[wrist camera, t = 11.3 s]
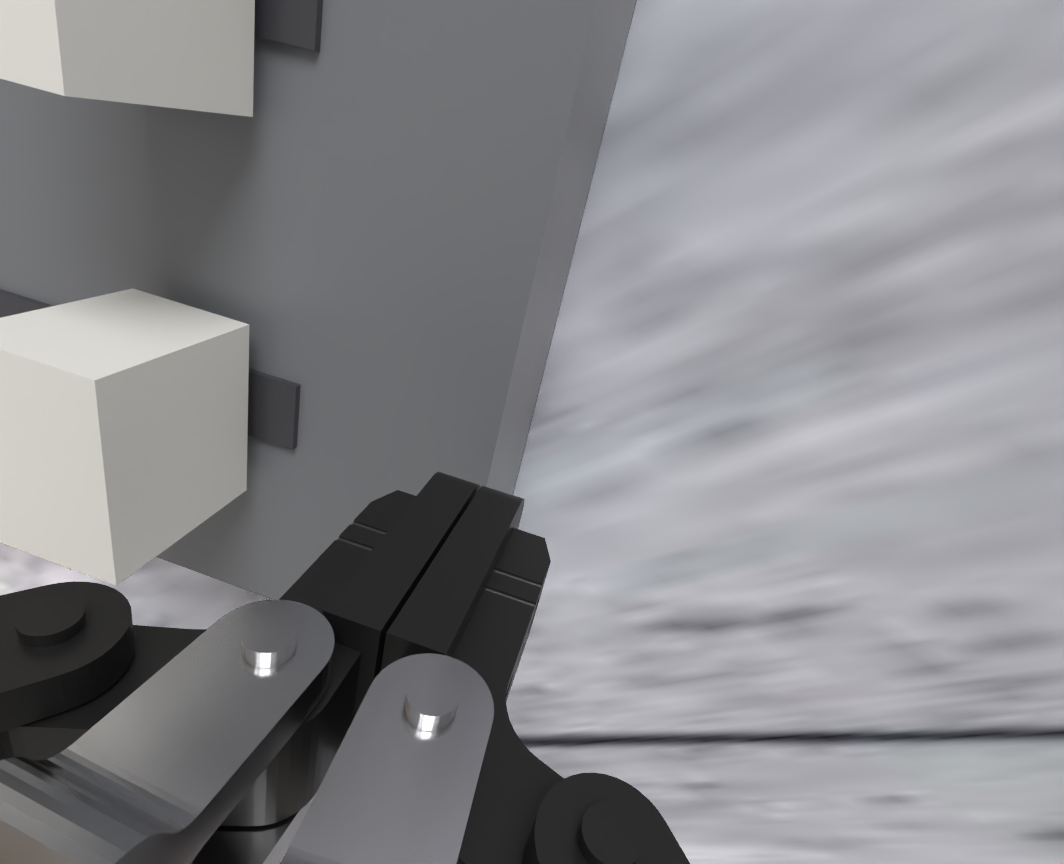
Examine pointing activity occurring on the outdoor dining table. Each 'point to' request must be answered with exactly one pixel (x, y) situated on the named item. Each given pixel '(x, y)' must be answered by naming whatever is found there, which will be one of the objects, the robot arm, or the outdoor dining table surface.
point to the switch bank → (339, 242)
